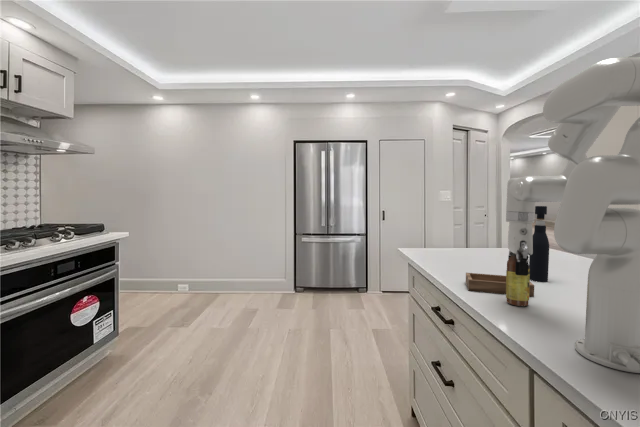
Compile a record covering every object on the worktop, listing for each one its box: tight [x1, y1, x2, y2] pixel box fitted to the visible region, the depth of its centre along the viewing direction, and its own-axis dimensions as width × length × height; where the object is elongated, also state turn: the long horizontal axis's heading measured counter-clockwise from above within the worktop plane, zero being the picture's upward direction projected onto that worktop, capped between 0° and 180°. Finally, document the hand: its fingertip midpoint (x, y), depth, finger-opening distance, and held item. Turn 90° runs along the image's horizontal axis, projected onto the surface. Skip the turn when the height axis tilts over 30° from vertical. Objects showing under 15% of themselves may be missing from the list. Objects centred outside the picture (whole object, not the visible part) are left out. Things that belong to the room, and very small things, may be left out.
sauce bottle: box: [505, 246, 531, 307], centre depth 98 cm, size 7×6×20 cm
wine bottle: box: [528, 205, 550, 283], centre depth 125 cm, size 6×6×30 cm
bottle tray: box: [465, 272, 535, 298], centre depth 114 cm, size 11×20×4 cm, turn 70°
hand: (517, 271), depth 98 cm, fingers open, 9 cm apart
